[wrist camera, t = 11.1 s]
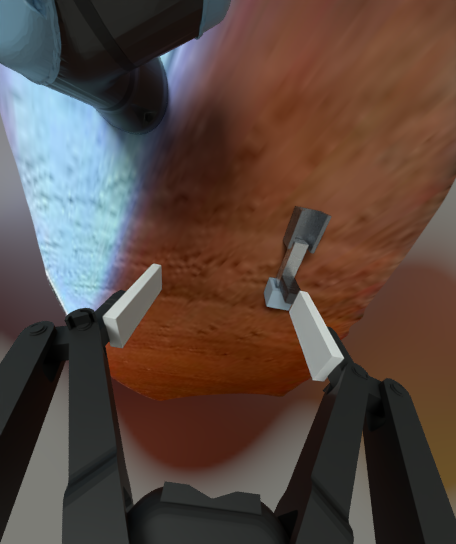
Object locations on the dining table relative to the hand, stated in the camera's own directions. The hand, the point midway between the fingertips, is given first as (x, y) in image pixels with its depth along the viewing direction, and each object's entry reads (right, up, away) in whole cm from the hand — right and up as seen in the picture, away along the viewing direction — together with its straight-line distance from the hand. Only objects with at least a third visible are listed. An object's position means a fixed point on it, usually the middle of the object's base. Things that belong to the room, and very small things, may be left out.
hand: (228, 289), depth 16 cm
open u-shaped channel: (+19, +13, +28) cm, 36 cm away
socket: (+15, -3, +38) cm, 41 cm away
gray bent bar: (+17, +3, +32) cm, 37 cm away
